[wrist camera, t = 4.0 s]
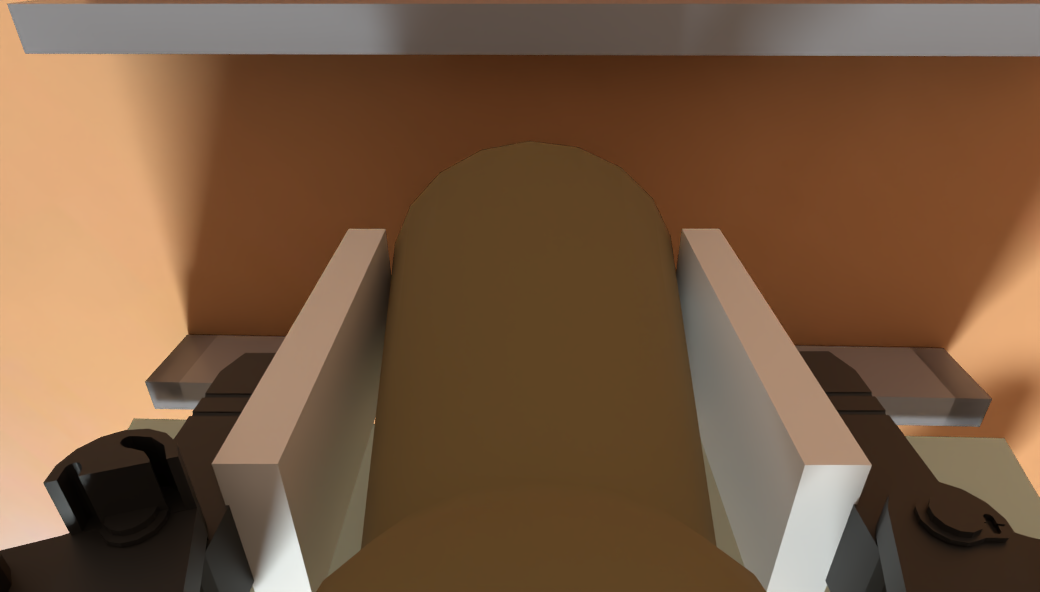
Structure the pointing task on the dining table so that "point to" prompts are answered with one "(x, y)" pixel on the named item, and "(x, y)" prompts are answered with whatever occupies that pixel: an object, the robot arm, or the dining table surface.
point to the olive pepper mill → (536, 393)
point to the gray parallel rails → (555, 31)
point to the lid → (950, 459)
